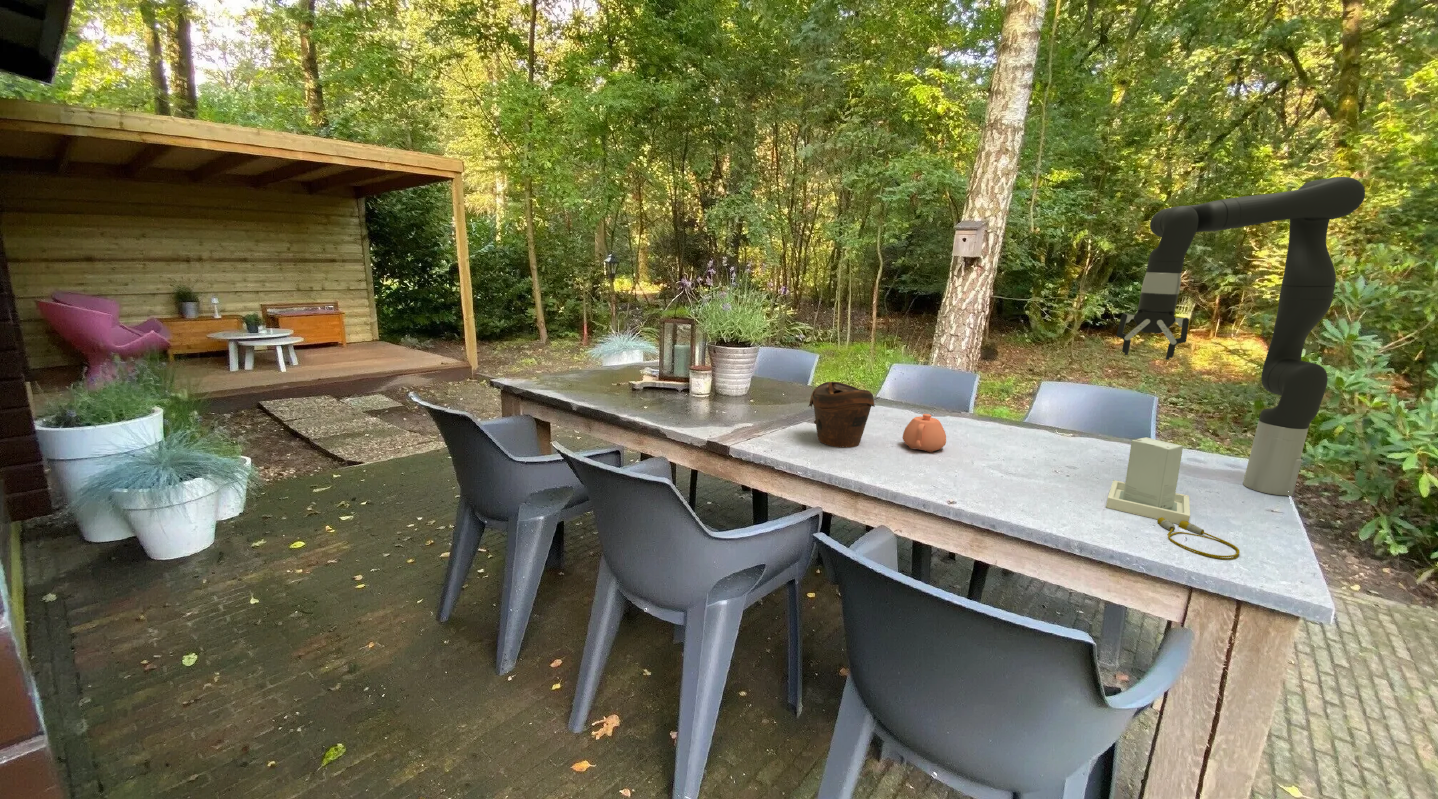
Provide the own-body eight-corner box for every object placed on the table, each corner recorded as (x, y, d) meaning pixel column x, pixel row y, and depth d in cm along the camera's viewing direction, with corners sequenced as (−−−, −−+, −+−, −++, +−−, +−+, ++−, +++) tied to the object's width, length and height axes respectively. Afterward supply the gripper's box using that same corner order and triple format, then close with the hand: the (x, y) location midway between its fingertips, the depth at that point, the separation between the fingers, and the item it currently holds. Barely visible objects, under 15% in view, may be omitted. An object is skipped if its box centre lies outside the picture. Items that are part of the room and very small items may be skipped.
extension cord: (1225, 535, 126) (1227, 527, 125) (1247, 567, 112) (1249, 558, 112) (1155, 522, 131) (1157, 513, 131) (1168, 551, 118) (1170, 542, 117)
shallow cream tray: (1186, 505, 140) (1189, 495, 140) (1187, 526, 129) (1190, 515, 128) (1111, 489, 149) (1113, 480, 148) (1105, 507, 137) (1107, 497, 137)
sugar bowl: (949, 446, 180) (953, 413, 177) (938, 458, 168) (942, 423, 166) (908, 439, 186) (911, 407, 184) (894, 450, 174) (898, 416, 172)
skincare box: (1173, 508, 136) (1187, 446, 133) (1156, 512, 134) (1170, 448, 130) (1135, 495, 144) (1147, 435, 140) (1119, 498, 141) (1131, 438, 138)
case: (821, 428, 194) (825, 374, 190) (880, 441, 183) (886, 383, 178) (794, 441, 180) (798, 383, 175) (856, 456, 169) (862, 394, 164)
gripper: (1124, 290, 148) (1111, 355, 152) (1196, 294, 140) (1181, 362, 144) (1126, 289, 154) (1114, 352, 158) (1195, 293, 146) (1181, 359, 149)
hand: (1146, 357), depth 151 cm, fingers open, 8 cm apart
